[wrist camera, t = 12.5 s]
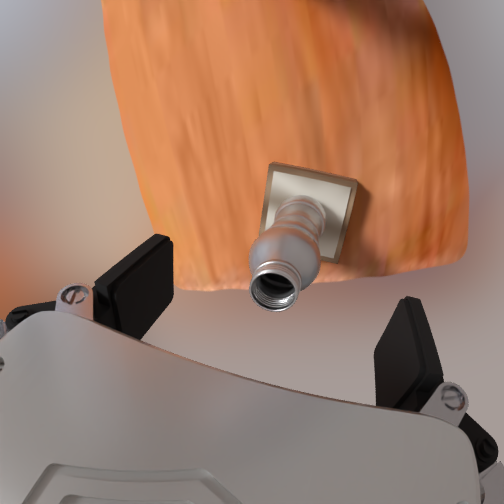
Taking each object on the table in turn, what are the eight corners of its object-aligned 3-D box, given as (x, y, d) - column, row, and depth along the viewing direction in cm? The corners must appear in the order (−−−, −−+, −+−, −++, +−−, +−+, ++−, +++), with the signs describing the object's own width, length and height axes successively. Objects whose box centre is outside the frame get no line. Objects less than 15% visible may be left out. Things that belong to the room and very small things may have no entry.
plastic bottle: (329, 235, 39) (321, 326, 22) (281, 238, 41) (238, 325, 24) (324, 189, 37) (315, 250, 19) (274, 193, 39) (222, 254, 21)
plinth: (273, 161, 40) (268, 164, 37) (356, 179, 38) (358, 183, 35) (262, 237, 46) (256, 245, 43) (337, 255, 43) (337, 264, 41)
